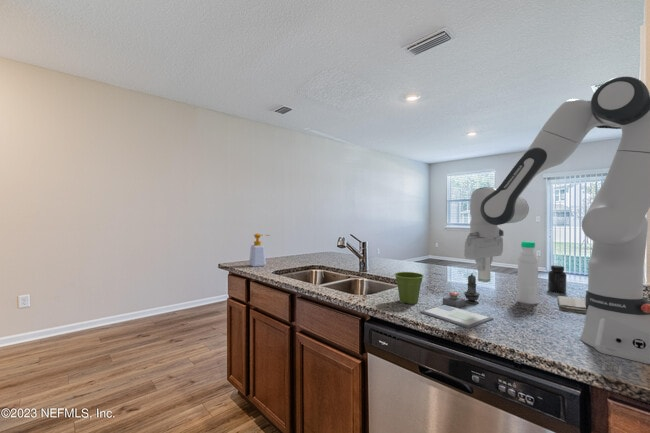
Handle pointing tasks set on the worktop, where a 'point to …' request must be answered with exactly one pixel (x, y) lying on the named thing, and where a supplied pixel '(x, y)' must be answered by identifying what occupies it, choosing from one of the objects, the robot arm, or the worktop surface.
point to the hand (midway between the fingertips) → (484, 269)
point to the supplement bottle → (557, 279)
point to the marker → (485, 271)
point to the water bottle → (527, 274)
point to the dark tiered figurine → (471, 291)
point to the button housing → (454, 302)
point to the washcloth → (572, 304)
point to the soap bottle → (257, 253)
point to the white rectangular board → (457, 316)
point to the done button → (453, 295)
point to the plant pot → (409, 286)
